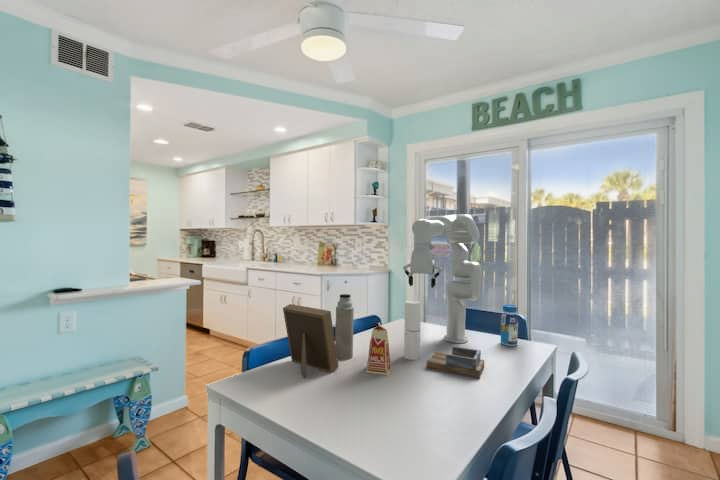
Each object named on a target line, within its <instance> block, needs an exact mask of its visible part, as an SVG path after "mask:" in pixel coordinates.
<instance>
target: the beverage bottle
mask: <svg viewBox="0 0 720 480" xmlns="http://www.w3.org/2000/svg"><path fill="white" fill-rule="evenodd" d="M502 312H503V313H502V314H501V316H500V317H501V318H500V319H501V321H500V344H502V345H504V346H509V347H510V346H511V347H516V346H517V345H518V333H519V322H518V321H519V317H518V315H517V314H516V313H517V312H518V307H517V305H516V304H515V305H514V304H502Z"/></svg>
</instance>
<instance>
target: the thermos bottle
mask: <svg viewBox="0 0 720 480" xmlns="http://www.w3.org/2000/svg"><path fill="white" fill-rule="evenodd" d="M351 297H352V296H351V294H349V293H348V294H347V293H343V294H339V301H338V302H337V306H336V307H335V331H334V334H335V335H334V340H335V347H336V354H337V360H345V361H346V360H351V359H352V358H354V357H353V356H354V318H355V317H354V313H355V312H354V311H355V310H354V309H355V308H354V306H353V302H352V301H351Z"/></svg>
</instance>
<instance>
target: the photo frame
mask: <svg viewBox="0 0 720 480" xmlns="http://www.w3.org/2000/svg"><path fill="white" fill-rule="evenodd" d="M282 310H283V311H282V312H283V316H284V317H283V318H284V322H285V323H284V324H285V329H286V334H287V342H288V347H289V352H290V357H291V362H292V363H296V364H299V365H301V366H300V375H301V376H302V378H303V379H305V378H306V373H307V367H309V368H313V369H315V370H316V369H317V370H320V371H323V372H325V373H330V374H332V373H334V372H335V371H336V370H338V368H339V362H338V359H337V354H336V347H335V335H334V334H335V331H334V326H333V325H334V324H333V320H332V313H331V312H332V311H331V310H325V309H323V308H321V309H320V308H315V307H309V306H303V305H297V304H292V303H290V304H287V305H286V306H284V307H283V308H282Z"/></svg>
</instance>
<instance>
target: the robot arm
mask: <svg viewBox="0 0 720 480" xmlns="http://www.w3.org/2000/svg"><path fill="white" fill-rule="evenodd" d="M411 230H412V233H413V250H412V251H411V255H410V263H408V264H406V265H403V267H402V268H403V271H404V273H405V275H406V276H407V277H408V285H409V287H412V286H413V285H414V277H413V275H414V274H420V275H421V274H422V275H429V276H431V279H430V281H431V282H430V287H431V289H433V288H435V286H436V279H437V278H438V277H439V276H440V274H441V273H442V271H443V268H441V267H440V266H438V265H436V264H435V256H434V251H433V250H434V249H435V245H433V244H432V237H439V236H441V235H442V234H444V235H445V234H446V238H447V241H448V243H449V245H450V248H451V251H452V256H451V264H450V274H451V276H452V277H453V278H455V279H462V280H450V281H448V282H447V284H445V293H446V294H445V295H446V334H445V335H444V336H443V337H442V339H443V340H444V341H446V342H448V343H455V344H464V343H467V342H468V341H469V339H468V337H466V309H467V308H466V305H465V303H464V300H465V301H471V302H472V301H473V302H475V301H477V300H478V299H479V298H480V294H481V286H482V285H481V284H482V273H483V272H482V271H483V270H482V266H481V263H479V262H477V261H469V255H470V254H469V253H470V252H469V250H468V248H467V246H466V245H468V244H469V245H473V244H477V243H478V242H479V240H480V237H481V236H480V231H479V229H478V226H477V225H476V222H475V220H474V219H473V217H472V216H471V215H470V214H468V213H467V214H466V213H460V214H459V213H458V214H457V213H456V214H452V213H451V214H447V215H441V216H435V217H429V218H420V219H416V220H415V221H414V222H413V223H412V225H411ZM464 244H466V245H464ZM408 268H409V269H410V271H409V270H408ZM435 270H437V271H436V273H435ZM463 279H464V280H469V281H463Z"/></svg>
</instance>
